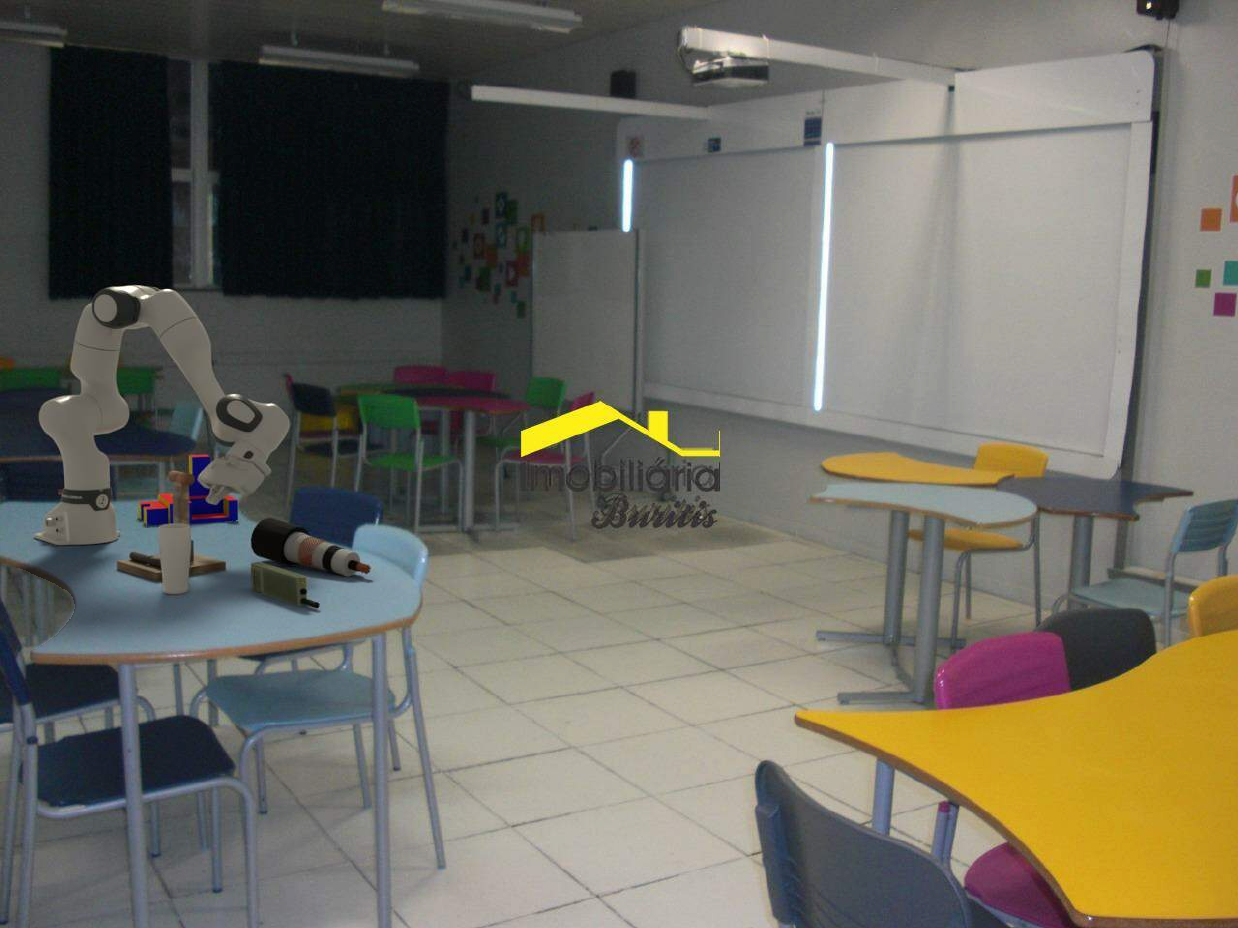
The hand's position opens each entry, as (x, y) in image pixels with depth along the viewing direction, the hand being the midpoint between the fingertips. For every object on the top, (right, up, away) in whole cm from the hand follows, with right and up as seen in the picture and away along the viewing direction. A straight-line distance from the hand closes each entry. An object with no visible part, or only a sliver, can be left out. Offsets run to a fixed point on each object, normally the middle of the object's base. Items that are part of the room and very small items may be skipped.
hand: (210, 502), depth 296 cm
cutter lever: (-5, -13, -4) cm, 14 cm away
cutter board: (-7, -16, -6) cm, 18 cm away
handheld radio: (+27, -21, -32) cm, 47 cm away
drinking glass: (+2, -19, -28) cm, 34 cm away
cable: (+26, -17, -2) cm, 31 cm away
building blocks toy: (-27, -7, +61) cm, 67 cm away
